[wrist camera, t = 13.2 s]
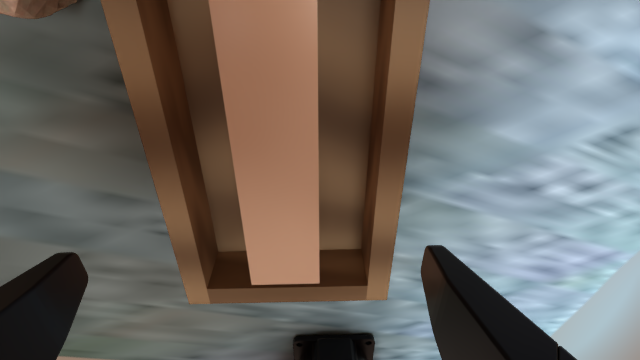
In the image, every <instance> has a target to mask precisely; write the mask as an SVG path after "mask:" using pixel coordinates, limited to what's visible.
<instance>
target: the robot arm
mask: <svg viewBox="0 0 640 360" xmlns="http://www.w3.org/2000/svg"><path fill="white" fill-rule="evenodd" d="M421 277H422V282H423V287H424V292H425V297H426V301H427V306H428V311H429V316H430V321H431V325H432V330H433V333H434V337H435V340H436V343H437V346H438V349H439V352H440V355H441V358H442V360H577V359H576V358H575V357H573V356H572V355H571V354H570V353H569V352H567V351H566V350H565V349H564V348H563V347H562V346H558V344H557V342H555V341H554V340H553V339H552V338H551V337H550V336H548V335H547V334H546V333H545V332H544V331H543V330H541V329H540V328H539V327H538V326H537V325H536V324H534V323H533V322H532V321H531V320H530V319H529V318H527V317H526V316H525V315H524V314H523V313H521V312H520V311H519V310H518V309H517V308H516V307H514V306H513V305H512V304H511V303H510V302H509V301H507V300H506V299H505V298H504V297H503V296H501V295H500V294H499V293H498V292H497V291H496V290H494V289H493V288H492V287H491V286H490V285H489V284H487V283H486V282H485V281H484V280H483V279H482V278H480V277H479V276H478V275H477V274H476V273H474V272H473V271H472V270H471V269H470V268H469V267H467V266H466V265H465V264H464V263H463V262H462V261H460V260H459V259H458V258H457V257H456V256H454V255H453V254H452V253H451V252H450V251H449V250H447V249H446V248H445V247H444V246H441V245H429V246H427V247H426V248H425V251H424V256H423V261H422V266H421ZM87 283H88V274H87V272H86V270H85V268H84V266H83V264H82V262H81V260H80V258H79V256H78V255H77V254H76V253H73V252H63V253H57V254H54V255H53V256H51V257H49V258H48V259H46V260H44V261H43V262H41V263H39V264H38V265H36V266H34V267H33V268H31V269H29V270H28V271H26V272H24V273H23V274H21V275H19V276H18V277H16V278H14V279H13V280H11V281H9V282H7V283H6V284H4V285H2V286H1V287H0V360H56V359H57V357H58V355H59V353H60V351H61V349H62V347H63V345H64V342H65V340H66V338H67V336H68V333H69V331H70V328H71V326H72V323H73V320H74V318H75V315H76V313H77V310H78V307H79V305H80V302H81V299H82V297H83V294H84V292H85V289H86V286H87ZM374 345H375V341H374V337H373V336H372V335H336V336H298V337H295V338H294V340H293V349H294V360H373V353H374Z"/></svg>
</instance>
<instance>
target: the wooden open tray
mask: <svg viewBox="0 0 640 360" xmlns="http://www.w3.org/2000/svg"><path fill="white" fill-rule="evenodd" d="M429 2H430V0H317V23H318V149H319V275H320V283H318V284H272V285H252V284H251V277H250V271H249V264H248V257H247V251H246V244H245V238H244V231H243V225H242V218H241V211H240V205H239V198H238V192H237V185H236V178H235V172H234V165H233V159H232V152H231V146H230V139H229V132H228V126H227V119H226V113H225V106H224V100H223V93H222V86H221V80H220V73H219V67H218V60H217V53H216V47H215V40H214V34H213V27H212V21H211V14H210V7H209V1H208V0H101V3H102V7H103V10H104V14H105V17H106V20H107V24H108V27H109V31H110V34H111V38H112V41H113V44H114V48H115V51H116V55H117V58H118V62H119V65H120V68H121V72H122V75H123V79H124V82H125V86H126V89H127V92H128V96H129V99H130V103H131V106H132V109H133V113H134V116H135V120H136V123H137V127H138V130H139V133H140V137H141V140H142V144H143V147H144V151H145V154H146V157H147V161H148V164H149V168H150V171H151V175H152V178H153V181H154V185H155V188H156V192H157V195H158V199H159V202H160V205H161V209H162V212H163V216H164V219H165V222H166V226H167V229H168V233H169V236H170V240H171V243H172V246H173V250H174V253H175V257H176V260H177V264H178V267H179V270H180V274H181V277H182V281H183V284H184V288H185V291H186V294H187V298H188V301H189V304H213V303H260V302H308V301H356V300H387V295H388V288H389V281H390V274H391V267H392V260H393V253H394V246H395V239H396V232H397V225H398V219H399V212H400V205H401V198H402V191H403V184H404V177H405V170H406V163H407V156H408V149H409V142H410V135H411V128H412V121H413V114H414V107H415V100H416V93H417V86H418V79H419V72H420V65H421V58H422V51H423V44H424V37H425V30H426V23H427V16H428V9H429Z"/></svg>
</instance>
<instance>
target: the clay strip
mask: <svg viewBox="0 0 640 360" xmlns="http://www.w3.org/2000/svg"><path fill="white" fill-rule="evenodd" d="M208 1H209V7H210V14H211V21H212V27H213V34H214V40H215V47H216V53H217V60H218V67H219V73H220V80H221V86H222V93H223V100H224V106H225V113H226V119H227V126H228V132H229V139H230V146H231V152H232V159H233V165H234V172H235V178H236V185H237V192H238V198H239V205H240V211H241V218H242V225H243V231H244V238H245V244H246V251H247V257H248V264H249V271H250V277H251V284H252V285H272V284H318V283H320V275H319V149H318V23H317V0H208Z"/></svg>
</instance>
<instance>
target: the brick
mask: <svg viewBox="0 0 640 360" xmlns="http://www.w3.org/2000/svg"><path fill="white" fill-rule="evenodd" d="M76 2H77V0H0V14H6V15H10V16H13V17H19V18H26V19H38V18H42V17H46V16H50V15H52V14H53V13H55V12H57V11H59V10H61V9H63V8H66V7H68V6H69V5H70V4H73V3H76Z"/></svg>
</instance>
